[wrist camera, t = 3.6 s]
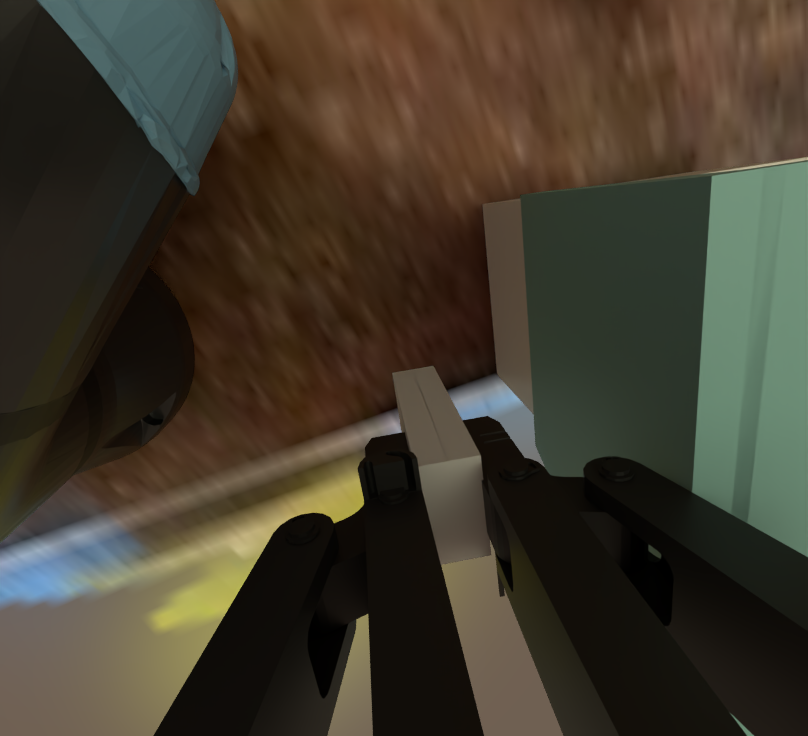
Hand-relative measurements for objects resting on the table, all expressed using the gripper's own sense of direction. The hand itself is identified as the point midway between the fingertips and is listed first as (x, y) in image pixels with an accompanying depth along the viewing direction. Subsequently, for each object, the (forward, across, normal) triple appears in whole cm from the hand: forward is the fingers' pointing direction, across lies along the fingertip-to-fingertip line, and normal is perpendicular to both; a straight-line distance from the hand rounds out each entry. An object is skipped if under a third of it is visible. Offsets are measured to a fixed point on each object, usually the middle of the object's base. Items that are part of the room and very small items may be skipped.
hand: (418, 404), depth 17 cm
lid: (-2, +8, 0) cm, 8 cm away
